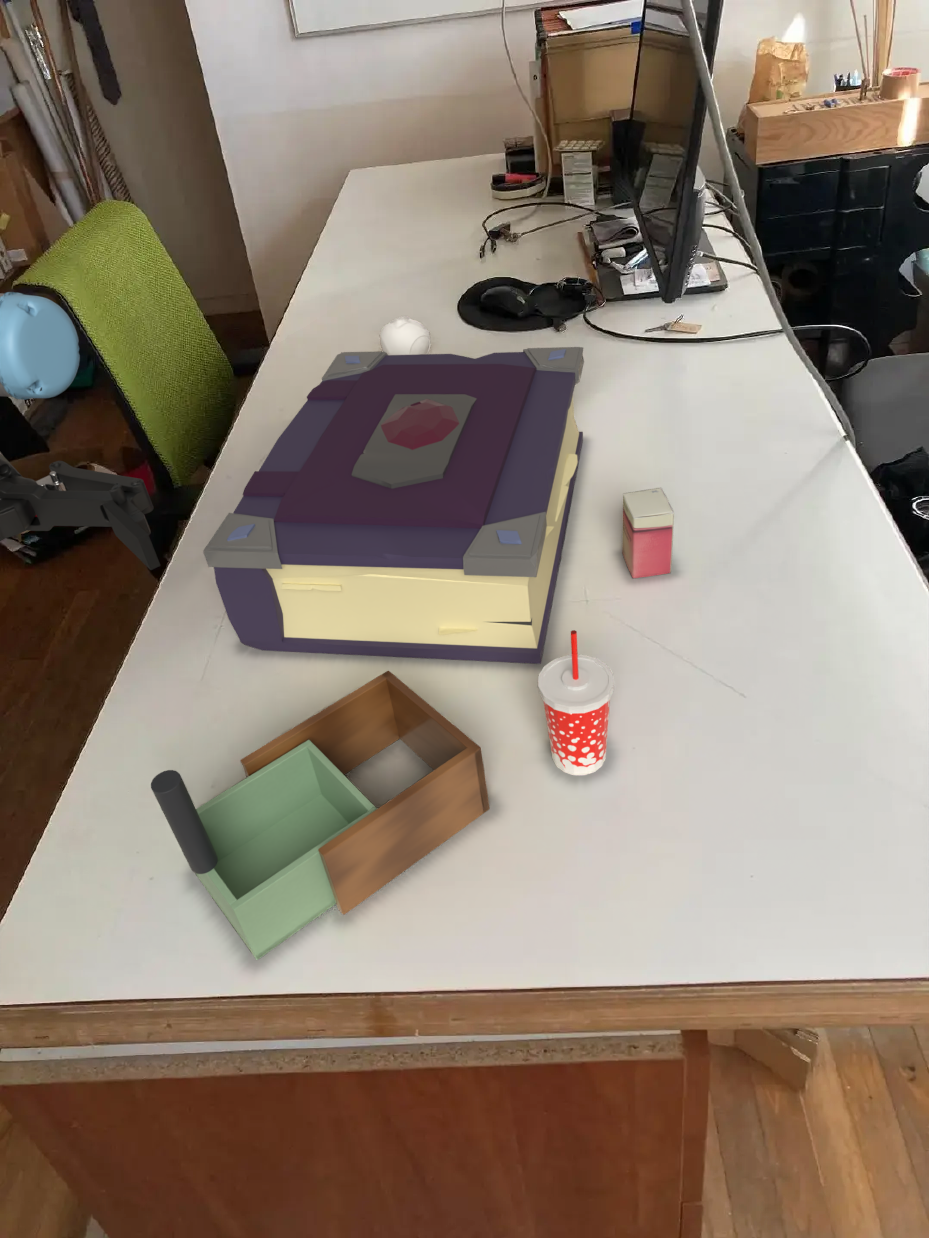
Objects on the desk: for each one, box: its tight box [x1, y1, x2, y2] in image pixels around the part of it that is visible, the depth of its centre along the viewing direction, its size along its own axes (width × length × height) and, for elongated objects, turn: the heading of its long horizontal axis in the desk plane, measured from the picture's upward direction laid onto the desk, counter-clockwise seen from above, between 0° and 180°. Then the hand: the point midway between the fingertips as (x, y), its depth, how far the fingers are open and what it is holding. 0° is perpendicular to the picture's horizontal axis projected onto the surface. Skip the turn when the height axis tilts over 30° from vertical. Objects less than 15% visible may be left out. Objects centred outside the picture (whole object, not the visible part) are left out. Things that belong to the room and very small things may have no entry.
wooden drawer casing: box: [240, 670, 490, 916], centre depth 75 cm, size 15×13×8 cm
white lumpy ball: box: [378, 315, 432, 355], centre depth 144 cm, size 8×8×8 cm
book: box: [202, 346, 585, 665], centre depth 105 cm, size 33×45×14 cm
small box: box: [621, 487, 675, 579], centre depth 97 cm, size 5×4×8 cm
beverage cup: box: [537, 629, 615, 776], centre depth 76 cm, size 6×6×14 cm
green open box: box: [150, 740, 378, 961], centre depth 69 cm, size 13×10×16 cm
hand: (55, 597), depth 61 cm, fingers open, 13 cm apart
